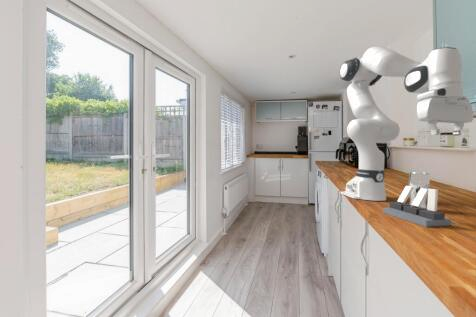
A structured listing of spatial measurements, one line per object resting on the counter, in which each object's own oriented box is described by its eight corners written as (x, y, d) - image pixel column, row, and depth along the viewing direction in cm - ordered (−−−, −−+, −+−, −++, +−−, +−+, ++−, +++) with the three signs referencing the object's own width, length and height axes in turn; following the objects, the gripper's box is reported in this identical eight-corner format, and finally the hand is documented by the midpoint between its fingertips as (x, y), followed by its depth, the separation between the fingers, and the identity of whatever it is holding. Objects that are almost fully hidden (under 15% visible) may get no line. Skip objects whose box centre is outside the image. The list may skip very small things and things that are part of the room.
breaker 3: (427, 209, 82) (428, 188, 82) (429, 209, 83) (430, 188, 82) (434, 211, 80) (435, 189, 80) (436, 211, 80) (438, 189, 80)
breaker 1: (397, 201, 94) (406, 185, 95) (398, 202, 94) (407, 186, 95) (402, 202, 92) (411, 186, 92) (404, 203, 92) (413, 187, 93)
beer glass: (403, 207, 104) (405, 171, 104) (413, 206, 107) (415, 171, 106) (421, 211, 98) (423, 173, 97) (431, 210, 101) (434, 173, 100)
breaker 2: (411, 204, 88) (420, 188, 89) (413, 206, 89) (422, 189, 89) (417, 206, 86) (427, 189, 87) (419, 207, 86) (429, 190, 87)
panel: (383, 212, 95) (383, 202, 94) (404, 211, 97) (405, 201, 97) (426, 226, 78) (426, 214, 78) (451, 225, 80) (451, 213, 80)
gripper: (458, 99, 90) (459, 137, 90) (412, 95, 86) (413, 135, 85) (478, 94, 84) (480, 135, 84) (430, 90, 80) (432, 133, 79)
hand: (446, 135), depth 85 cm, fingers open, 8 cm apart
